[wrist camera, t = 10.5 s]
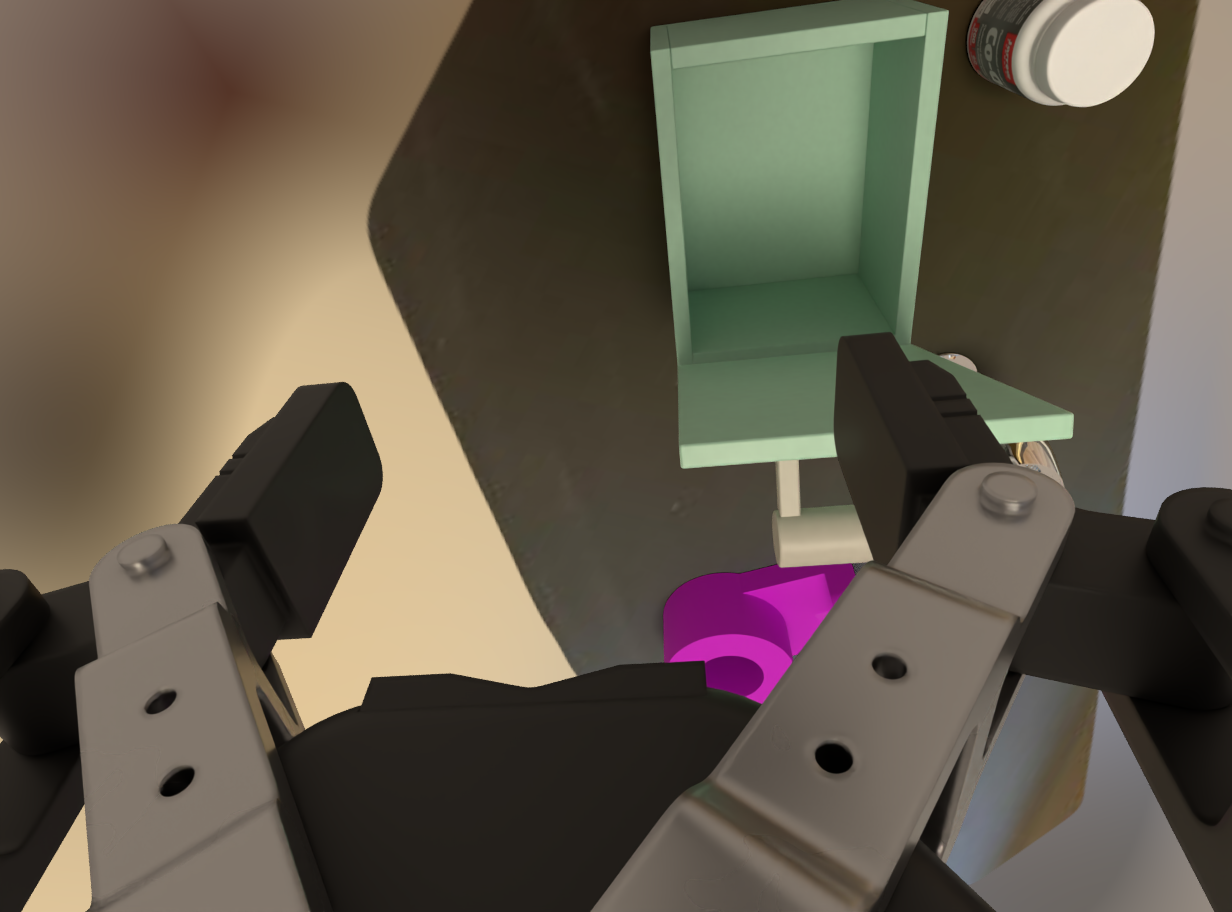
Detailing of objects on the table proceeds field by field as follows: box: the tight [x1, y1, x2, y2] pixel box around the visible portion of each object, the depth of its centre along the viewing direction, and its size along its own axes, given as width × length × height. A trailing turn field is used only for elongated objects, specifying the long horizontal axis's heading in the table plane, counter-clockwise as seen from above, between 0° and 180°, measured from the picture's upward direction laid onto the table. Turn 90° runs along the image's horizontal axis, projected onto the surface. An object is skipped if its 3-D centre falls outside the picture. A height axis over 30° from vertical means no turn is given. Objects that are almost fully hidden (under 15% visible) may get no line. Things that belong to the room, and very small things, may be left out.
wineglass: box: [938, 353, 1064, 487], centre depth 43 cm, size 6×6×12 cm
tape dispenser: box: [663, 563, 855, 704], centre depth 58 cm, size 16×10×6 cm, turn 111°
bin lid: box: [678, 344, 1074, 568], centre depth 30 cm, size 16×12×5 cm
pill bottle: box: [967, 0, 1155, 107], centre depth 33 cm, size 5×5×8 cm
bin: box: [650, 0, 949, 366], centre depth 37 cm, size 15×12×9 cm
